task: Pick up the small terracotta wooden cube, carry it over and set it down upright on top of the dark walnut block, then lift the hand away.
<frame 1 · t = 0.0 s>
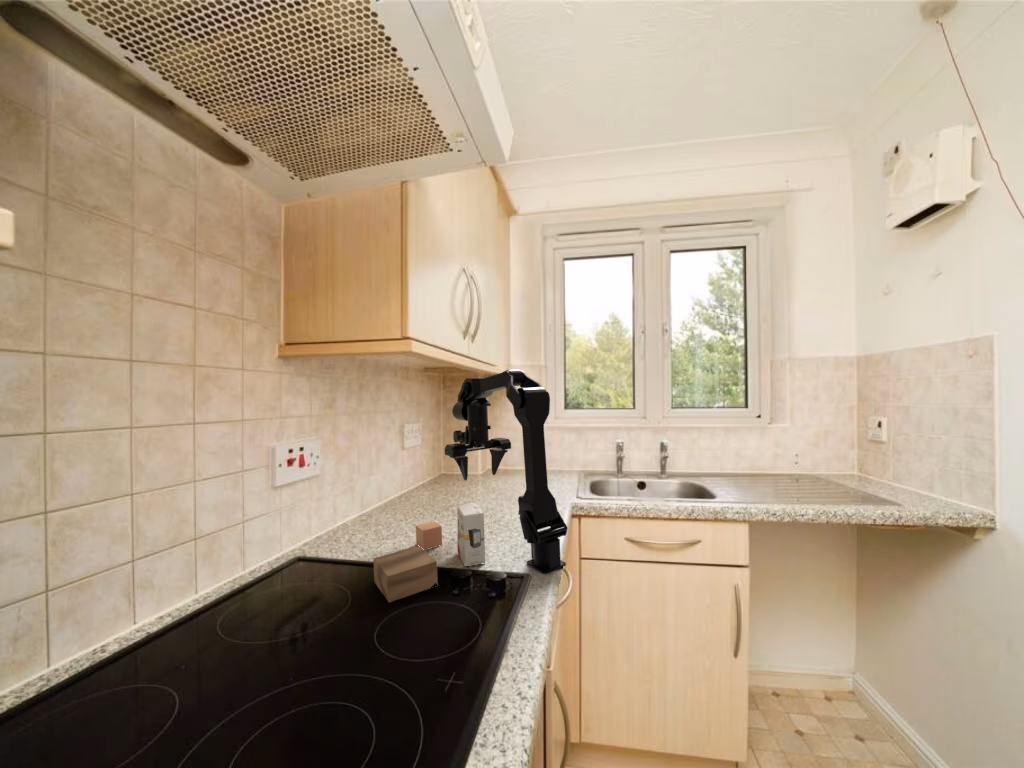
hand: (479, 477, 112), 15 cm above the cooktop, tool pointing down, fingers open, 9 cm apart
terracotta cube: (429, 545, 102), on the cooktop
walnut block: (405, 583, 82), on the cooktop
ink box: (471, 559, 93), on the cooktop
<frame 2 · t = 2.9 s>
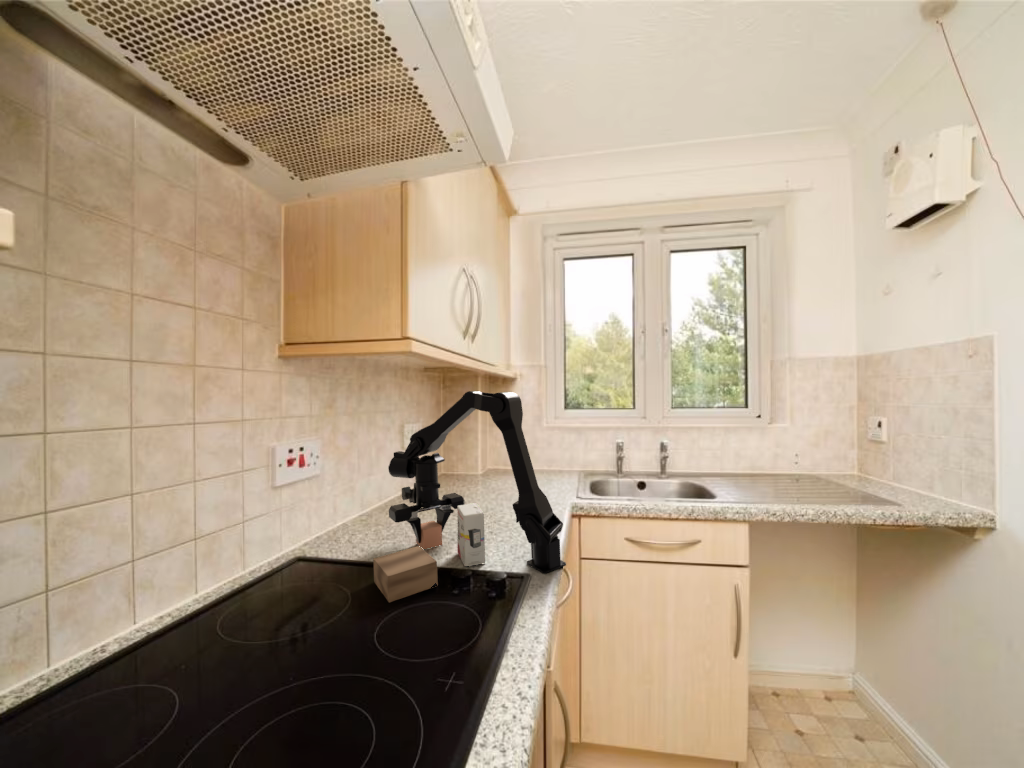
hand: (429, 539, 102), 1 cm above the cooktop, tool pointing down, fingers closed on terracotta cube, 5 cm apart
terracotta cube: (429, 544, 102), on the cooktop, touching gripper
everything else where it was.
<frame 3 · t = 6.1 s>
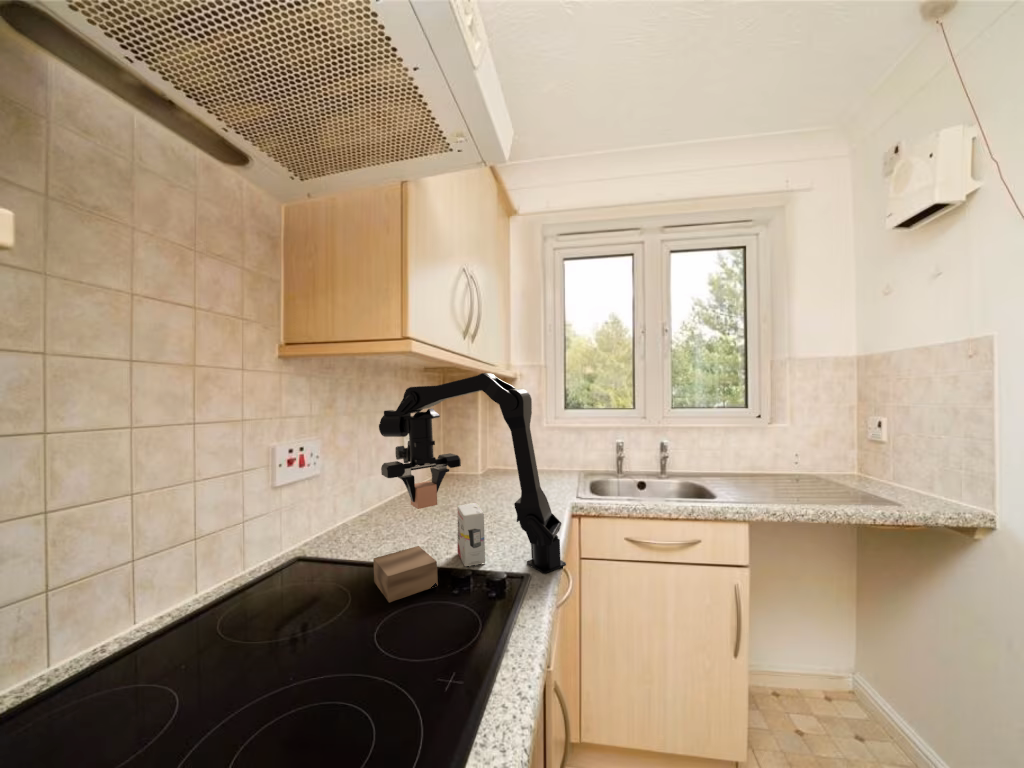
hand: (423, 499, 98), 13 cm above the cooktop, tool pointing down, fingers closed on terracotta cube, 5 cm apart
terracotta cube: (423, 504, 98), point 12 cm above the cooktop, touching gripper
everything else where it was.
when the fingers open (7 cm above the cooktop, at t = 9.1 s): terracotta cube drops 1 cm, resting on walnut block.
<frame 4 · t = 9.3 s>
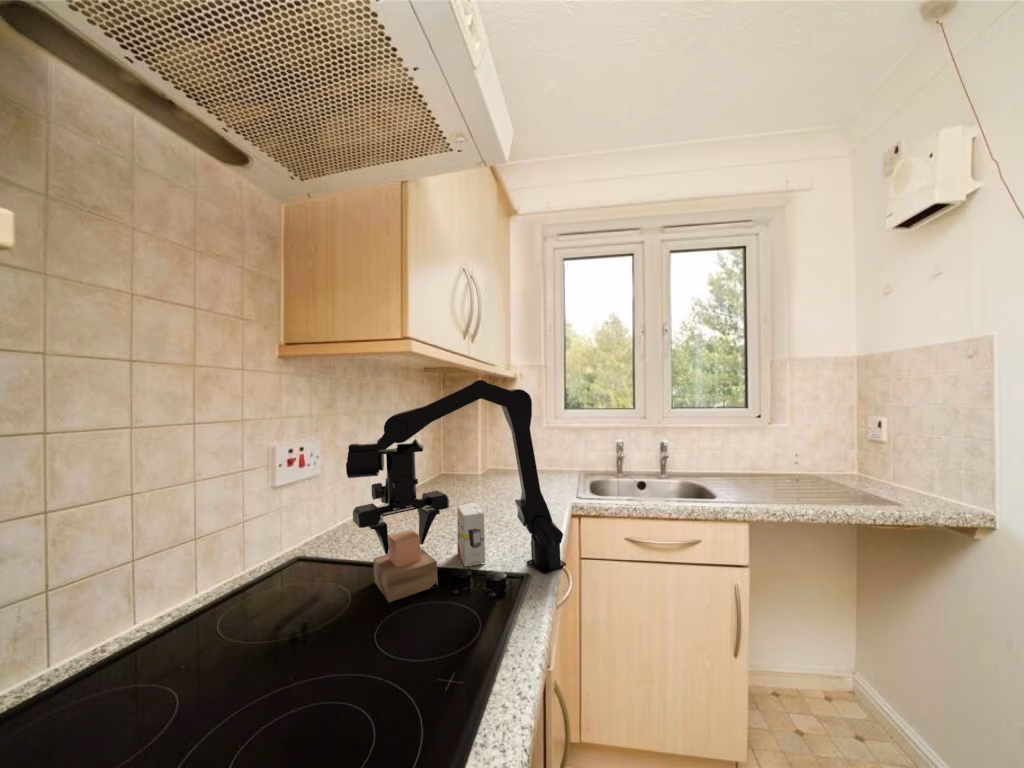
hand: (404, 548, 82), 7 cm above the cooktop, tool pointing down, fingers open, 7 cm apart
terracotta cube: (404, 559, 82), point 5 cm above the cooktop, touching walnut block
everything else where it was.
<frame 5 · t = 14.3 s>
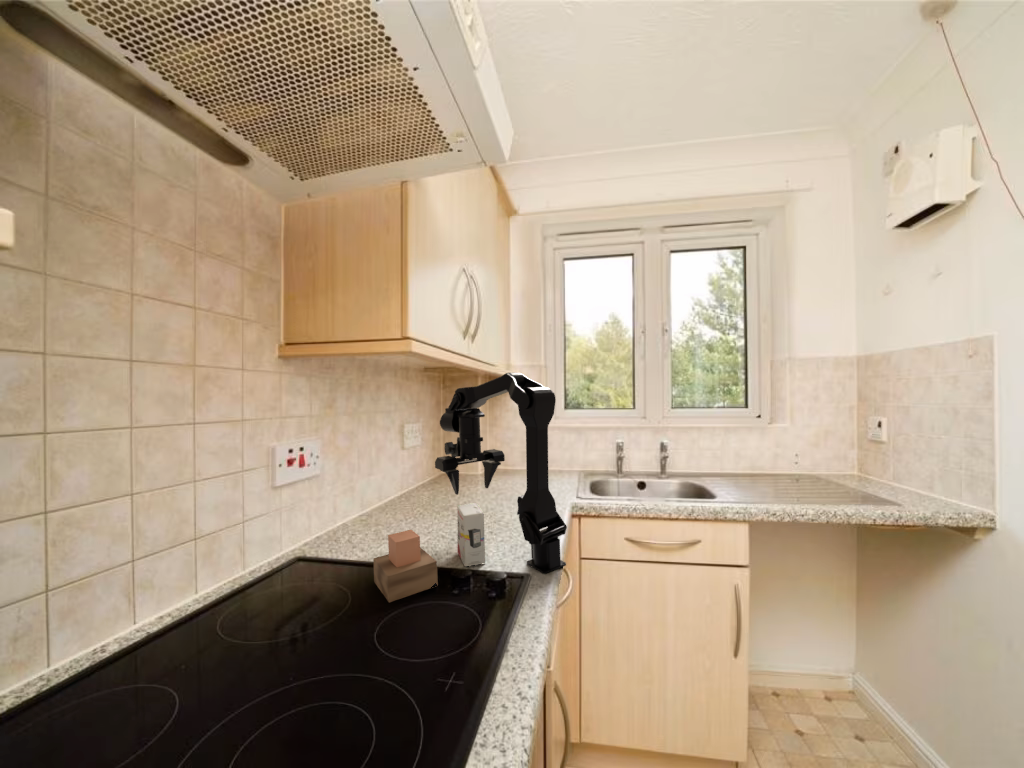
hand: (472, 491, 108), 12 cm above the cooktop, tool pointing down, fingers open, 9 cm apart
nothing on the cooktop moved.
at the end: terracotta cube 0.0 cm off-centre on the walnut block, point 5.0 cm above the walnut block's base; terracotta cube tilted 0°; the gripper is holding nothing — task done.
